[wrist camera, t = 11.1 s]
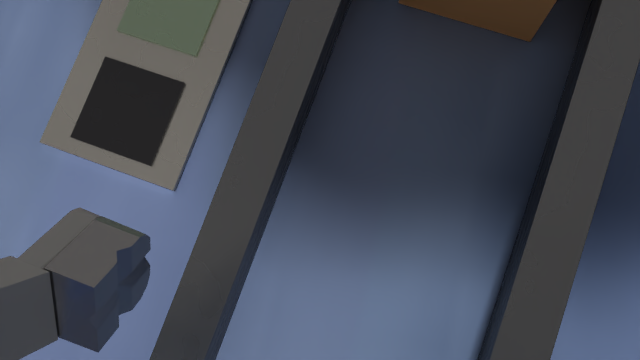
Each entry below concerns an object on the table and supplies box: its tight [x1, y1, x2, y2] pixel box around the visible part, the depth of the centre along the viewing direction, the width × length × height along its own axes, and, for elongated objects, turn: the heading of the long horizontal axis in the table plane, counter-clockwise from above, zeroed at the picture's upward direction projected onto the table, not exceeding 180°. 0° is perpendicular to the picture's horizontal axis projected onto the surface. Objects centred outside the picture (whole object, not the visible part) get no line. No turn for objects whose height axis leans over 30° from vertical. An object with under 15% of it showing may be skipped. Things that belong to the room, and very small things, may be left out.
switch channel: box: [40, 0, 640, 360], centre depth 17 cm, size 24×17×4 cm
